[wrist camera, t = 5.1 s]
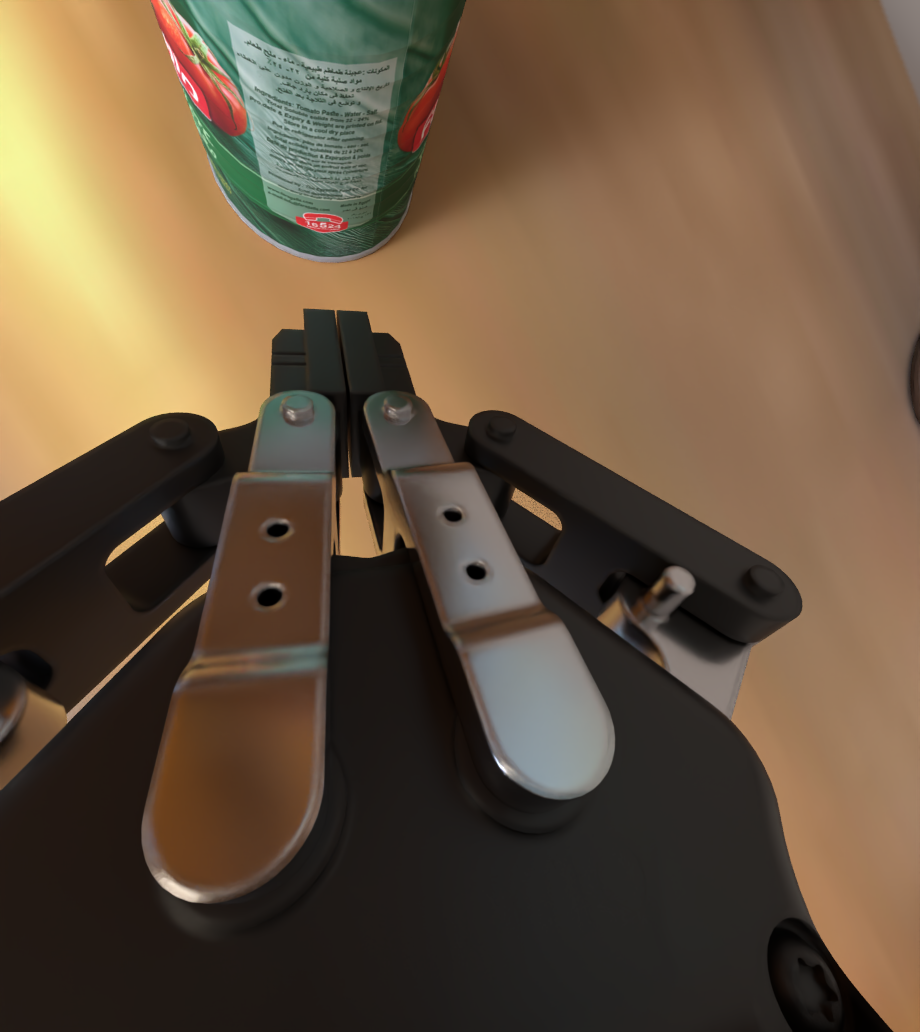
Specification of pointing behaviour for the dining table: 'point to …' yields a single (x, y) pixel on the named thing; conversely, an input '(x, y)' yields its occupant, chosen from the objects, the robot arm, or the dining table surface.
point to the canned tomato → (313, 110)
